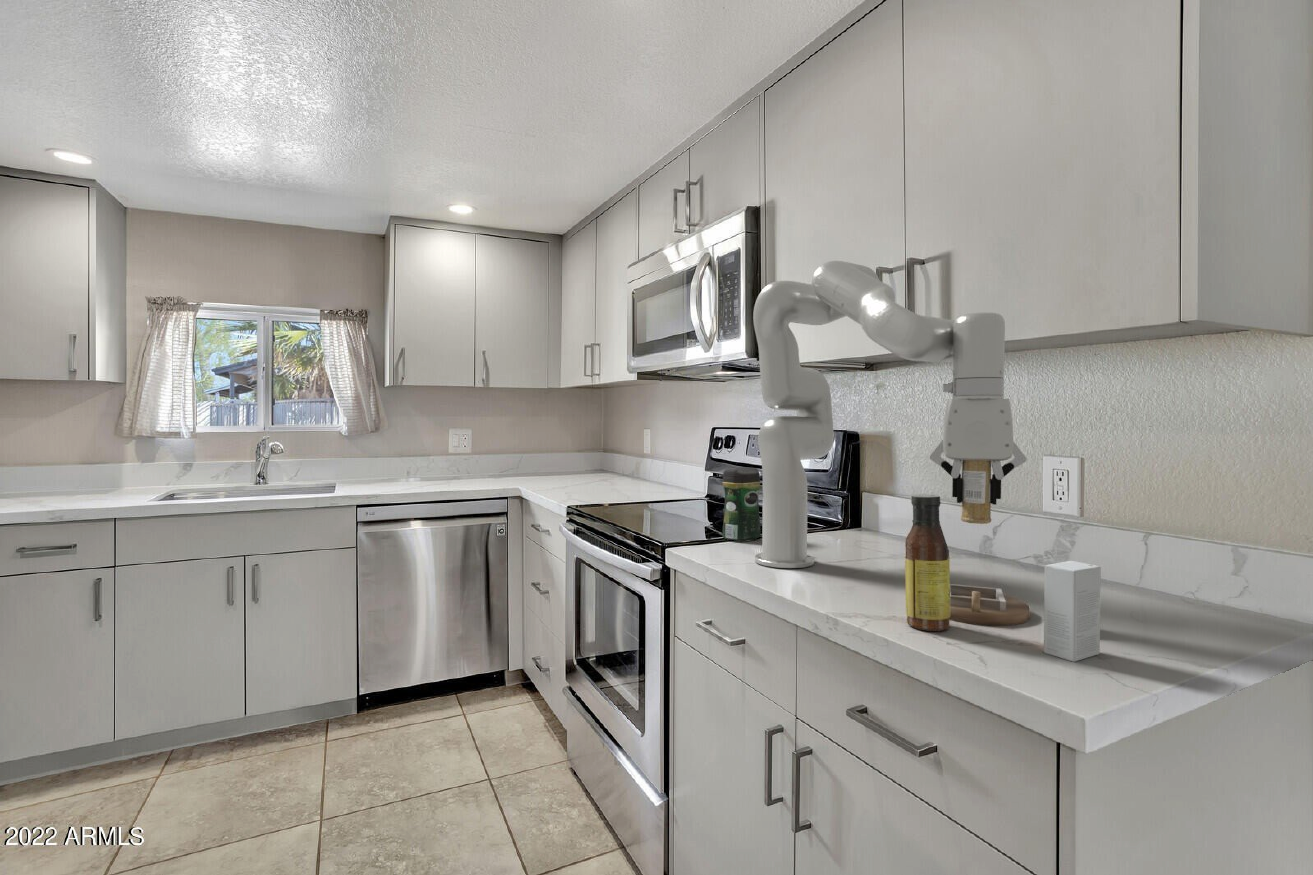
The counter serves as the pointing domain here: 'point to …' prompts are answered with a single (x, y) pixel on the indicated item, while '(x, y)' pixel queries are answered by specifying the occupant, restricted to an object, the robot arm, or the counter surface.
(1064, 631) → the skincare box
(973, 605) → the brown piece
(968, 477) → the spice jar
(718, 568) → the counter surface
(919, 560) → the sauce bottle
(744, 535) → the coffee jar
